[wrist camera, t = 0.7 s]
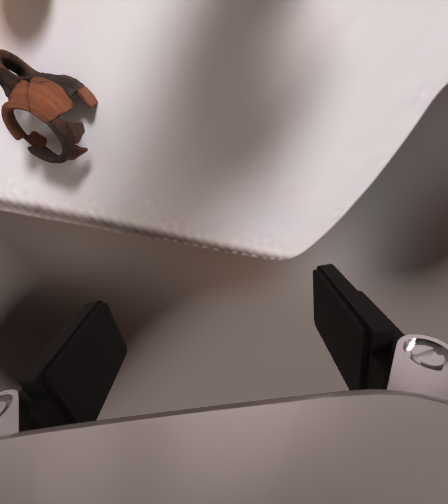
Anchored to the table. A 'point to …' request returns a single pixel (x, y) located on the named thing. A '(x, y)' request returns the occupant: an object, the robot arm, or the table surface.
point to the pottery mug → (42, 106)
